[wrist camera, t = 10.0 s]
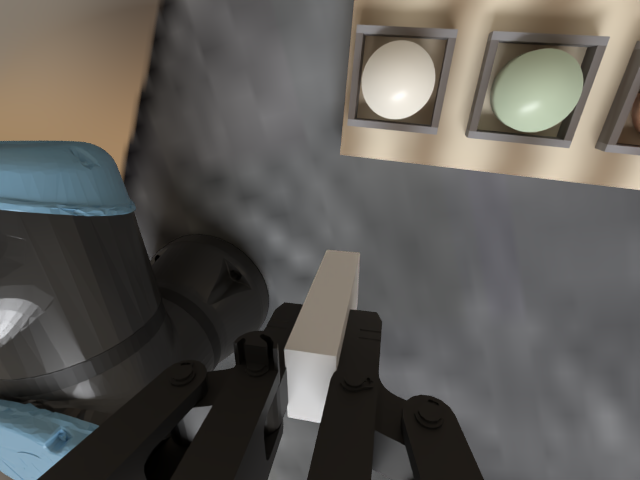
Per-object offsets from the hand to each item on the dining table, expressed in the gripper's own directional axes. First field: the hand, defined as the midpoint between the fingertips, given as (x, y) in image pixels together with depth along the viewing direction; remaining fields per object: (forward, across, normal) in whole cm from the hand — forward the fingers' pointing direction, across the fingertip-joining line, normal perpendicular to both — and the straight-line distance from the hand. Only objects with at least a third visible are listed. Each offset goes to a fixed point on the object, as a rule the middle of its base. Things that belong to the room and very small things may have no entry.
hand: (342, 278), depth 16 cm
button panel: (+19, +11, +8) cm, 23 cm away
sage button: (+15, +11, +8) cm, 20 cm away
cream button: (+16, +2, +8) cm, 18 cm away
